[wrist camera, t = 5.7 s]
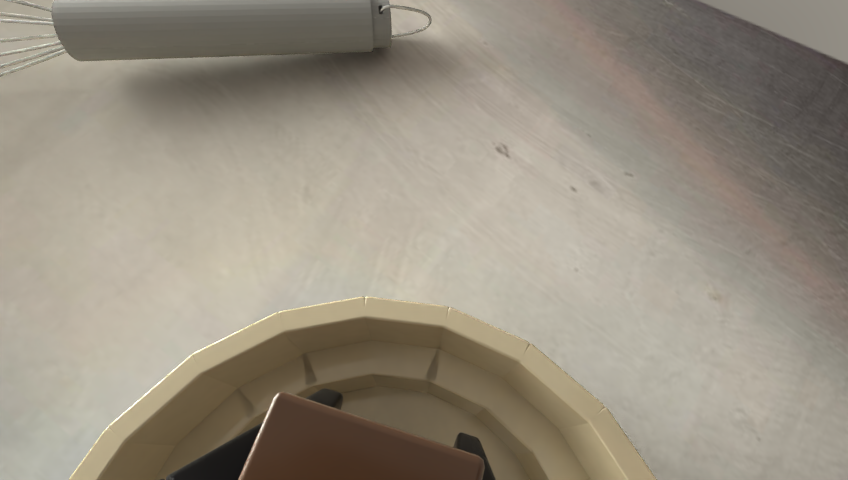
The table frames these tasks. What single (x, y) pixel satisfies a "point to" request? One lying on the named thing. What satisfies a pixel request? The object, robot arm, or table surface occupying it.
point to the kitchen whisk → (208, 28)
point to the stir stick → (347, 448)
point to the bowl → (375, 393)
